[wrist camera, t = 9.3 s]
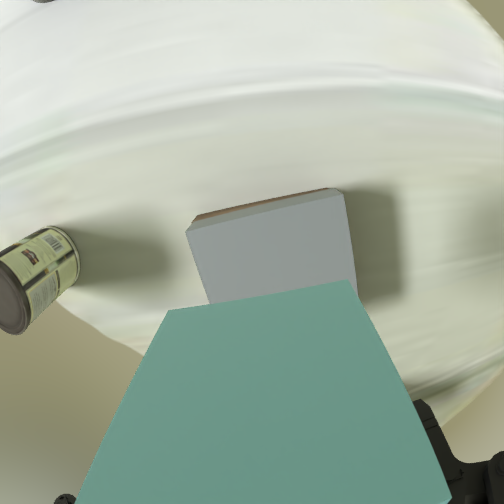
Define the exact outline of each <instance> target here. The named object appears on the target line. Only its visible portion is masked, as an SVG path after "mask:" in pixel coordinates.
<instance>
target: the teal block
mask: <svg viewBox="0 0 504 504" xmlns="http://www.w3.org/2000/svg"><path fill="white" fill-rule="evenodd" d="M451 498H452V496H451V493H450V491H449V488H448V485H447V483H446V480H445V477H444V475H443V472H442V470H441V467H440V465H439V462H438V460H437V457H436V455H435V453H434V450H433V448H432V445H431V443H430V441H429V438H428V436H427V434H426V432H425V429H424V427H423V425H422V422H421V420H420V418H419V416H418V414H417V411H416V409H415V407H414V405H413V403H412V401H411V399H410V396H409V394H408V392H407V390H406V388H405V386H404V384H403V382H402V380H401V378H400V376H399V374H398V372H397V370H396V368H395V366H394V364H393V362H392V360H391V358H390V356H389V354H388V352H387V350H386V348H385V346H384V344H383V342H382V340H381V338H380V336H379V335H378V333H377V331H376V329H375V327H374V325H373V323H372V321H371V320H370V318H369V316H368V314H367V312H366V310H365V309H364V307H363V305H362V303H361V301H360V300H359V298H358V296H357V294H356V292H355V291H354V289H353V287H352V285H351V284H350V282H349V280H348V279H345V280H340V281H335V282H331V283H326V284H321V285H315V286H310V287H305V288H300V289H295V290H289V291H284V292H279V293H273V294H268V295H262V296H256V297H250V298H245V299H239V300H233V301H227V302H221V303H214V304H208V305H202V306H195V307H188V308H182V309H175V310H168V312H167V314H166V316H165V318H164V320H163V321H162V323H161V325H160V327H159V329H158V331H157V333H156V335H155V336H154V338H153V340H152V342H151V344H150V346H149V348H148V350H147V352H146V354H145V356H144V357H143V359H142V361H141V363H140V365H139V367H138V369H137V371H136V373H135V375H134V377H133V379H132V381H131V383H130V385H129V387H128V389H127V391H126V393H125V395H124V397H123V399H122V401H121V403H120V405H119V407H118V409H117V411H116V413H115V415H114V417H113V420H112V422H111V424H110V426H109V428H108V430H107V432H106V434H105V436H104V438H103V441H102V443H101V445H100V447H99V449H98V451H97V454H96V456H95V458H94V460H93V462H92V465H91V467H90V469H89V471H88V474H87V476H86V479H85V480H84V483H83V485H82V487H81V489H80V492H79V494H78V497H77V499H76V501H75V504H447V503H448V502H449V501H450V500H451Z"/></svg>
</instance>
